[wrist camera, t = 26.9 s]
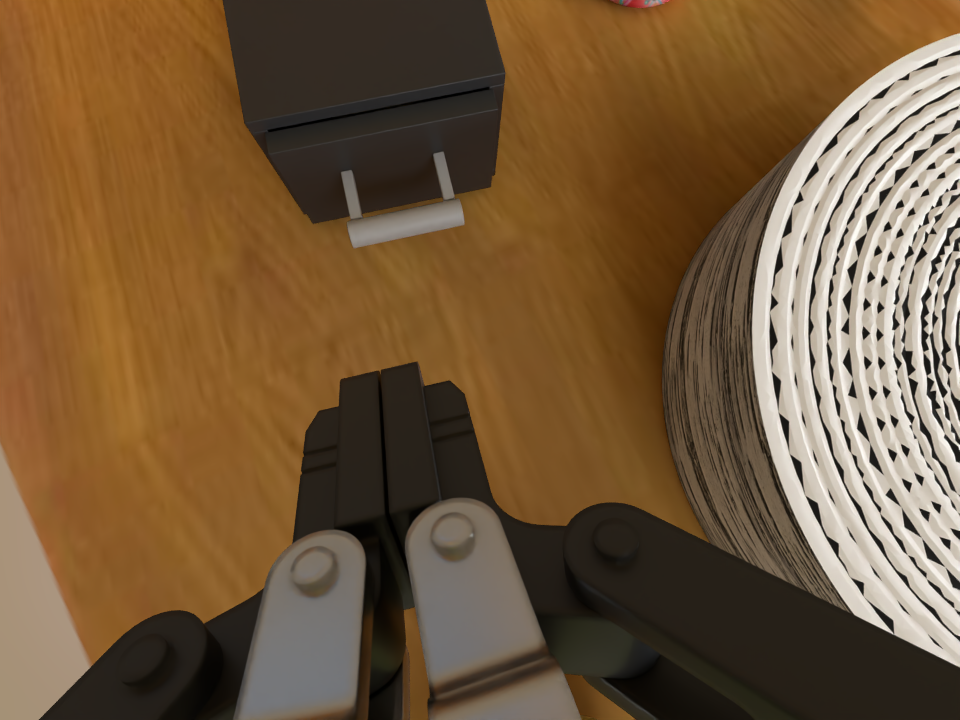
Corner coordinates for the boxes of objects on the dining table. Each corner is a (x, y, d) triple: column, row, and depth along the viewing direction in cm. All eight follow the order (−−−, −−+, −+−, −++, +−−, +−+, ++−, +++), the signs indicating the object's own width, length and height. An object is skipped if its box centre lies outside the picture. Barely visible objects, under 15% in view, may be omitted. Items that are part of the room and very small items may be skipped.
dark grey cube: (495, 175, 36) (505, 73, 26) (304, 215, 35) (244, 123, 25) (445, -12, 38) (439, -167, 29) (266, 21, 37) (199, -128, 28)
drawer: (507, 248, 34) (519, 185, 26) (325, 287, 33) (282, 235, 25) (444, 7, 37) (439, -112, 29) (276, 38, 36) (225, -77, 28)
